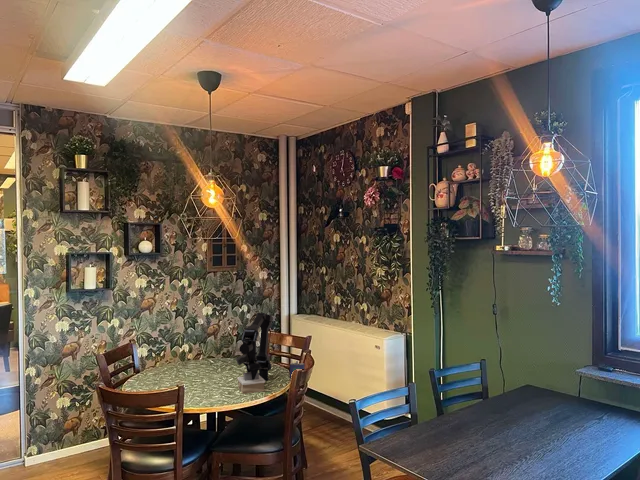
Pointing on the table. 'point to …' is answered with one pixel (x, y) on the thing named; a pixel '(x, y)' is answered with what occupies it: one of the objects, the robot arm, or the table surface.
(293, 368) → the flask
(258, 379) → the lid
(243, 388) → the box
